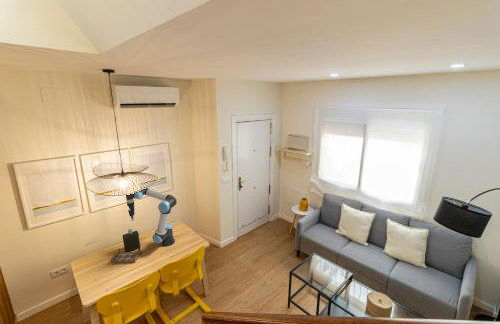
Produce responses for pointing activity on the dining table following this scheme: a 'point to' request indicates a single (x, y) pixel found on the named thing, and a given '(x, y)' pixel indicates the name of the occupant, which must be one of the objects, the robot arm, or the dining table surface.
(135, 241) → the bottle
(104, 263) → the dining table surface
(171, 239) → the robot arm
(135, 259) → the walnut rest
